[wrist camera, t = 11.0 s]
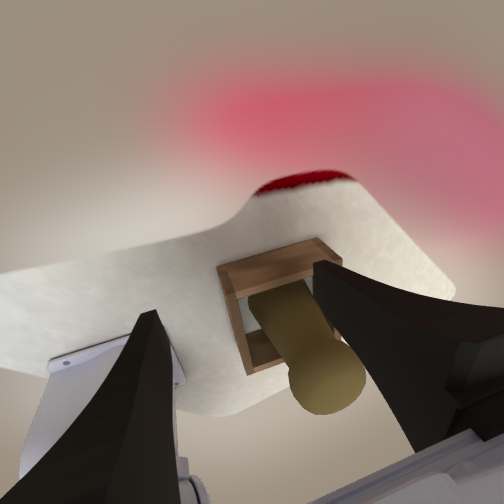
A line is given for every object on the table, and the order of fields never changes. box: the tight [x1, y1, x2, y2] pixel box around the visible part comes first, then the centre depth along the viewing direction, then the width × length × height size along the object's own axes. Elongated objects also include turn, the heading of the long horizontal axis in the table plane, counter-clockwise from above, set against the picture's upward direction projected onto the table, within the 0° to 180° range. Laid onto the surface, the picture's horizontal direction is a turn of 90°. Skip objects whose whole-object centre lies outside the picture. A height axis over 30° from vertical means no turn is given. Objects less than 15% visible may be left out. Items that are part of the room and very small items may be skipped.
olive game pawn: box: [248, 279, 366, 415], centre depth 22 cm, size 6×6×11 cm
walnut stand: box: [216, 237, 343, 376], centre depth 25 cm, size 9×9×4 cm
